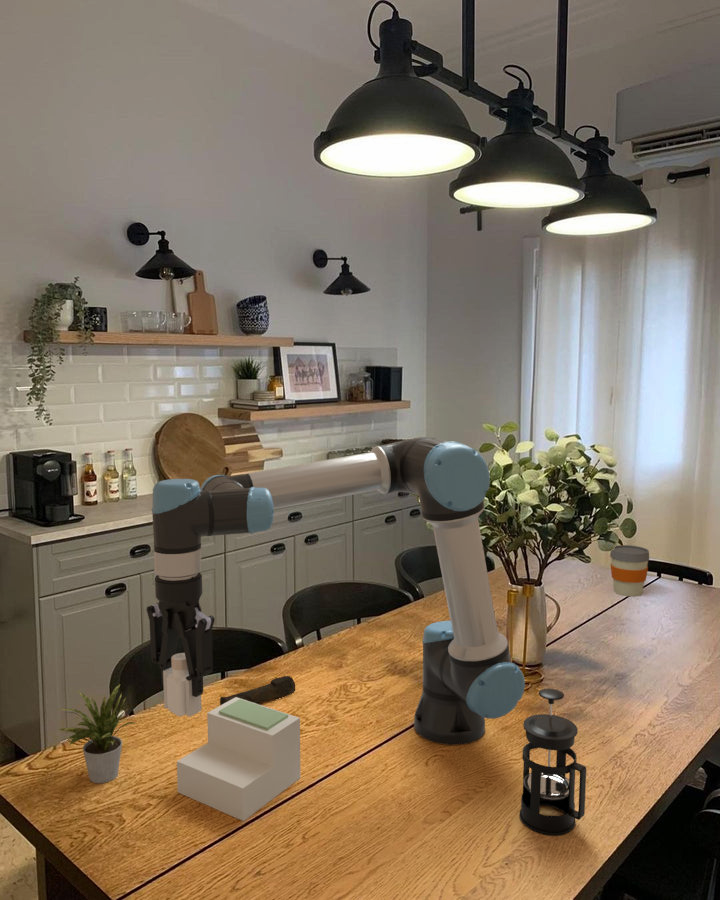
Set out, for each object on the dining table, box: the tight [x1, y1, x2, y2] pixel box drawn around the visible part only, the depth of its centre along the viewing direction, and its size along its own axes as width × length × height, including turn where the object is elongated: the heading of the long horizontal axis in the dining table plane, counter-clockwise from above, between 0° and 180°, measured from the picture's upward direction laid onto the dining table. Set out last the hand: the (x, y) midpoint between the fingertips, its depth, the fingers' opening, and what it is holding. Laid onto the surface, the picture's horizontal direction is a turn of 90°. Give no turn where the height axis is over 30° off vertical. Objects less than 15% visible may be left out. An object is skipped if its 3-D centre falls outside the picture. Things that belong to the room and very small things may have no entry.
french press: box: [519, 687, 587, 837], centre depth 128 cm, size 12×9×23 cm
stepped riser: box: [176, 697, 301, 822], centre depth 139 cm, size 16×16×12 cm
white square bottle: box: [167, 652, 189, 717], centre depth 125 cm, size 4×4×10 cm
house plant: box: [57, 683, 136, 784], centre depth 143 cm, size 14×14×16 cm
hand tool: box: [219, 675, 296, 706], centre depth 173 cm, size 19×4×5 cm, turn 124°
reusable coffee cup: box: [609, 544, 650, 598], centre depth 255 cm, size 13×13×15 cm
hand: (182, 708), depth 126 cm, fingers closed on white square bottle, 4 cm apart
